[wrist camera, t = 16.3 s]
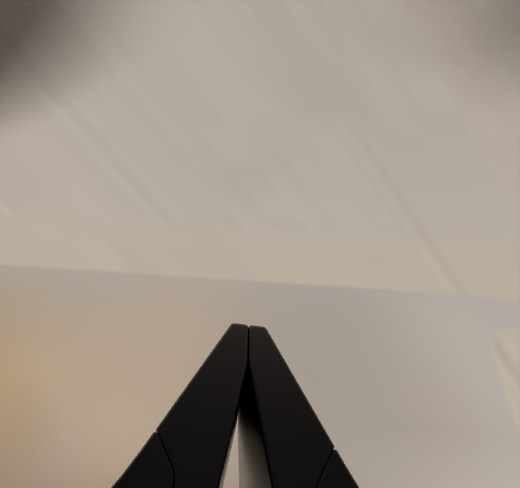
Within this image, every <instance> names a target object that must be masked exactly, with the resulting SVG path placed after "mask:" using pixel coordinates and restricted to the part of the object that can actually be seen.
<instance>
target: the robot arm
mask: <svg viewBox="0 0 520 488" xmlns="http://www.w3.org/2000/svg"><path fill="white" fill-rule="evenodd" d="M237 417H238V451H239V488H359V487H358V486H357V484H356V482H355V480H354V479H353V477H352V475H351V474H350V472H349V470H348V469H347V467H346V465H345V464H344V462H343V460H342V459H341V457H340V455H339V454H338V451H337V450H334V445H333V443H332V441H331V440H330V438H329V436H328V435H327V433H326V431H325V429H324V428H323V426H322V424H321V422H320V421H319V419H318V417H317V415H316V414H315V412H314V410H313V409H312V407H311V405H310V403H309V402H308V400H307V398H306V396H305V395H304V393H303V391H302V390H301V388H300V386H299V384H298V383H297V381H296V379H295V377H294V376H293V374H292V372H291V371H290V369H289V367H288V365H287V364H286V362H285V360H284V359H283V357H282V355H281V354H280V352H279V350H278V348H277V346H276V345H275V343H274V341H273V340H272V338H271V336H270V334H269V333H268V331H267V329H266V328H265V327H260V326H249V328H248V326H247V325H243V324H236V323H233V324H231V325H230V327H229V328H228V330H227V331H226V332H225V334H224V335H223V336H222V338H221V339H220V341H219V342H218V343H217V345H216V346H215V348H214V349H213V350H212V352H211V353H210V355H209V356H208V358H207V359H206V360H205V362H204V363H203V364H202V366H201V367H200V369H199V370H198V371H197V373H196V374H195V376H194V377H193V378H192V380H191V381H190V383H189V384H188V385H187V387H186V388H185V390H184V391H183V392H182V394H181V395H180V397H179V398H178V399H177V401H176V402H175V403H174V405H173V406H172V408H171V409H170V410H169V412H168V413H167V415H166V416H165V417H164V419H163V420H162V422H161V423H160V425H159V426H158V427H157V429H156V432H154V433H153V434H152V435H151V437H150V438H149V439H148V441H147V442H146V444H145V445H144V446H143V448H142V449H141V451H140V452H139V453H138V455H137V456H136V457H135V458H134V460H133V461H132V463H131V464H130V465H129V466H128V468H127V469H126V470H125V472H124V473H123V474H122V476H121V477H120V478H119V479H118V480H117V482H116V483H115V484H114V485H113V486H112V487H111V488H223V484H224V480H225V475H226V470H227V465H228V461H229V456H230V451H231V447H232V442H233V437H234V432H235V428H236V422H237Z"/></svg>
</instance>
